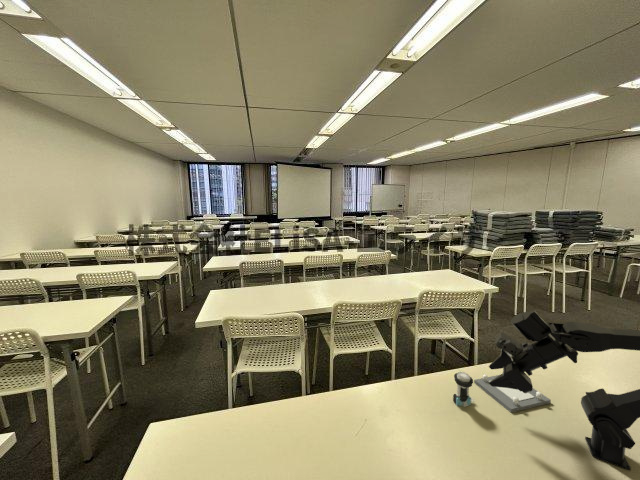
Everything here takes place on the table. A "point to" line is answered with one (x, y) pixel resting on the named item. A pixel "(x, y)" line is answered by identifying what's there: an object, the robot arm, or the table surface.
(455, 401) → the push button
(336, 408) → the table surface
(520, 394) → the mounting base
